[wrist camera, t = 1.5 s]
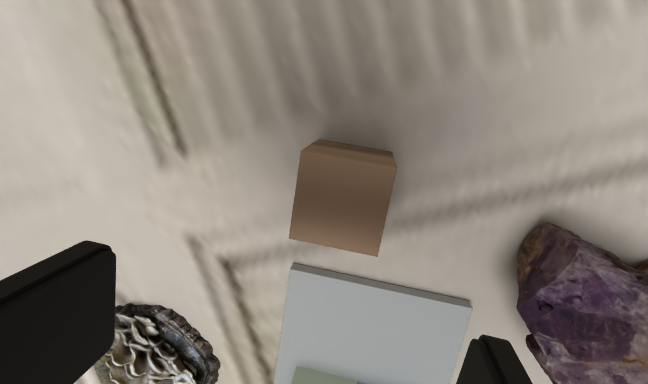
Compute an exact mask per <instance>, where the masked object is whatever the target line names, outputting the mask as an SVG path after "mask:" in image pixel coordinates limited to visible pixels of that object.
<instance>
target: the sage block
mask: <svg viewBox="0 0 648 384" xmlns="http://www.w3.org/2000/svg"><path fill="white" fill-rule="evenodd" d="M291 384H357V381H356V380H352V379H348V378H343V377H339V376H335V375H331V374H327V373H323V372H319V371H315V370H311V369H307V368H302V367H298V366H296V370H295V373H294V376H293V379H292V382H291Z"/></svg>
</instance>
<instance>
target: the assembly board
mask: <svg viewBox="0 0 648 384" xmlns="http://www.w3.org/2000/svg"><path fill="white" fill-rule="evenodd" d="M472 309H473V308H472V306H471V304H470V302H469V301H468V300H463V299H458V298H454V297H449V296H444V295H440V294H435V293H430V292H426V291H421V290H416V289H412V288H407V287H402V286H398V285H393V284H388V283H384V282H379V281H374V280H370V279H365V278H360V277H356V276H351V275H346V274H342V273H337V272H333V271H328V270H323V269H319V268H314V267H309V266H305V265H300V264H295V263H293V265H292V267H291V269H290V275H289V281H288V288H287V295H286V302H285V309H284V316H283V323H282V329H281V336H280V343H279V350H278V357H277V364H276V371H275V377H274V384H291V382H292V379H293V376H294V373H295V370H296V366H298V367H302V368H307V369H311V370H315V371H319V372H323V373H327V374H331V375H335V376H339V377H343V378H348V379H352V380H356V381H357V384H359V382H364V383H368V384H450V381H451V377H452V374H453V371H454V368H455V364H456V361H457V358H458V355H459V351H460V348H461V345H462V342H463V338H464V335H465V332H466V328H467V325H468V322H469V319H470V315H471V312H472Z"/></svg>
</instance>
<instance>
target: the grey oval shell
mask: <svg viewBox="0 0 648 384" xmlns="http://www.w3.org/2000/svg"><path fill="white" fill-rule="evenodd" d="M212 352H213V348H212V346H211V345H210V343H209V342H208V341H206V340H204V339H203V338H202V337H201V335H200V333H199V332H198V331H197V330H196V329H195V328H192V327H191V326H190V324H189V323H188V322H187V321H186V319H185V318H184V317H183V316H180V315H179V314H178V313H176V312H175V311H173V310H172V309H167V308H164V307H163V306H161V305H154V306H150V305H134V304H131V303H129V304H126V305H125V306H121V305H120V306H117V307H115V337H114V342H113V344H112V346H111V348H110V349H109V351H108V352H107V353H106V354H105V355H104V356H102V357H101V358H100V359H99V360H98V361H97V362H96V363H95V364H94V367H95V371H96V374H97V375H98V377H99V379H100V381H101V383H102V384H215V382H217V380H218V376H219V375H218V369H219V368H220V361H219V360H218V358H217V357H216V356H214V355H213V354H212Z"/></svg>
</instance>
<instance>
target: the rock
mask: <svg viewBox="0 0 648 384" xmlns="http://www.w3.org/2000/svg"><path fill="white" fill-rule="evenodd" d="M517 273H518V285H519V297H518V302H517V310H518V312H519V314H520V315H521V317H522V319H523V320H524V322H525V323H526V326H527V328H528V329H529V331H530V332H531V333H532V334H530V335H527V336H526V344H527V347H528V348H529V350H530V351H531V353H532V354H533V355H534V357H535V358H536V360H537V361H538V363H539V364H540V366H541V368H542V369H543V370H544V372H545V373H546V374H547V375H548V376H549V378H550V380H551V381H552V383H553V384H648V262H647V263H645V264H644V265H642V266H640V267H638V268H633V267H630V266H628V265H626V264H624V263H622V262H621V261H620V259H619V258H618V257H616V256H615V255H614V254H612V253H611V252H608V251H604V250H600V249H596V248H594V246H593V245H592V244H591V243H588V242H586V241H583V240H582V239H581V238H580V237H579V236H578V235H576V234H574V233H573V232H571V231H568V230H564V229H562V228H561V227H559V226H556V225H554V224H544V225H541V226H539V227H538V228H537V229H536V230H535V231H534V232H533V233H531V234H530V235H529V236H528V237H527V238H526V239H525V241H524V243H523V245H522V248H521V250H520V252H519V254H518V268H517Z"/></svg>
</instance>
